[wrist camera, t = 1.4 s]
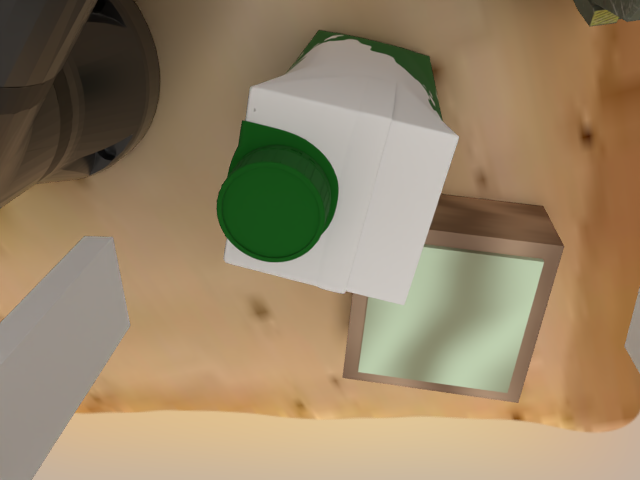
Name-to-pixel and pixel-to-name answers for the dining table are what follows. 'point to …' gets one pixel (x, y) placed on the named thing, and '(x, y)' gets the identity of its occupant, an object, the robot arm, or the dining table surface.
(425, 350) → the step block
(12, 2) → the robot arm
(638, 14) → the mechanical leg
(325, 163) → the soya milk
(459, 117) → the dining table surface
